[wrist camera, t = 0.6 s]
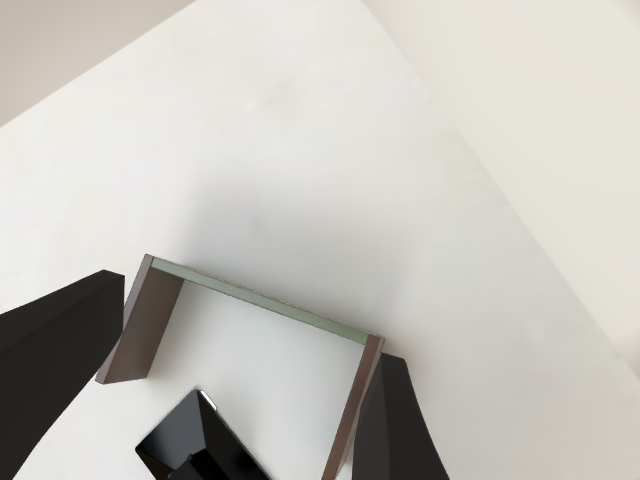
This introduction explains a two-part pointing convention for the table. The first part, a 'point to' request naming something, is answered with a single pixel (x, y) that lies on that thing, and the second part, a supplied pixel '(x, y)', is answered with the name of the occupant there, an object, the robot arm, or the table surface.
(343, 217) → the table surface
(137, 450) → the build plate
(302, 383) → the table surface
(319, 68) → the table surface
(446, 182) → the table surface
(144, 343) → the stall
